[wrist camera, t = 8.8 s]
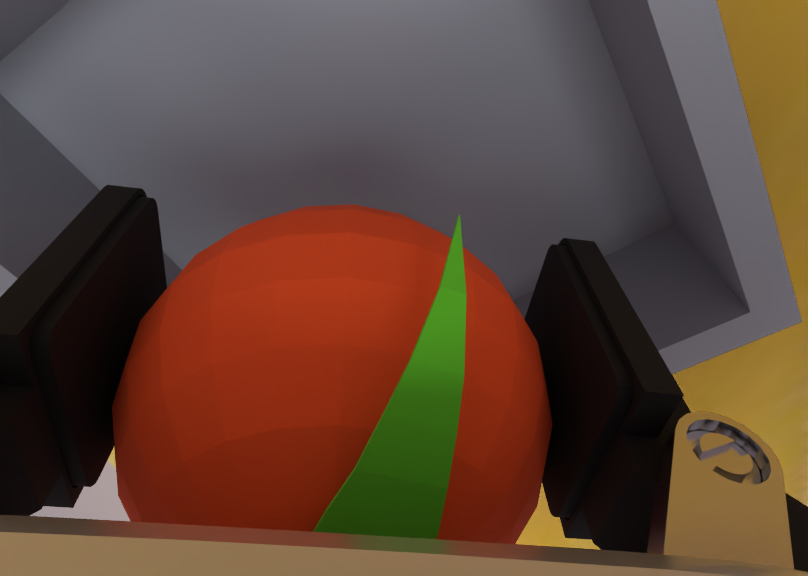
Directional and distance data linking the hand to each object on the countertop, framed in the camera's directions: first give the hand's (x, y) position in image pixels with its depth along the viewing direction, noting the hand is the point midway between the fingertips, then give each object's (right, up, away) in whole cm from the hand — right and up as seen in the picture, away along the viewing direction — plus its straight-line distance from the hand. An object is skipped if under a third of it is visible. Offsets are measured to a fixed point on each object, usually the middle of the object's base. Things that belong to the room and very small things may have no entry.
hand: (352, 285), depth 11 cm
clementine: (0, 0, +2) cm, 2 cm away
